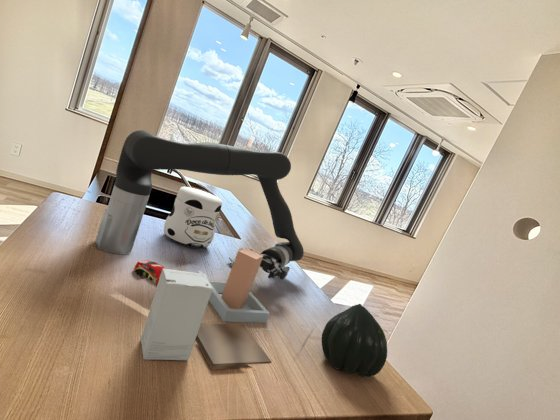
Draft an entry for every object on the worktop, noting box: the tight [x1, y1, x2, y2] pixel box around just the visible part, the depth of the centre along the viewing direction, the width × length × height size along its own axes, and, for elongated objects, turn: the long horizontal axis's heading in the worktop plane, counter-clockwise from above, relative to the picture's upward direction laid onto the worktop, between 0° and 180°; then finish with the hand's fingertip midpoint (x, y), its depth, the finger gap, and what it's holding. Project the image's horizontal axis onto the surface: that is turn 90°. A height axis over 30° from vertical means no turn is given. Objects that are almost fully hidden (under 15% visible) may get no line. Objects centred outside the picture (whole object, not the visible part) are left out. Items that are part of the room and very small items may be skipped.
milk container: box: [163, 186, 223, 249], centre depth 127 cm, size 17×17×18 cm
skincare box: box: [140, 267, 213, 361], centre depth 64 cm, size 8×6×15 cm
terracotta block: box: [221, 247, 263, 309], centre depth 91 cm, size 5×5×14 cm
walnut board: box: [195, 322, 272, 371], centre depth 74 cm, size 13×13×1 cm
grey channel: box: [196, 270, 271, 324], centre depth 93 cm, size 12×20×4 cm, turn 33°
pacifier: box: [228, 247, 244, 267], centre depth 123 cm, size 7×6×6 cm
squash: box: [321, 303, 388, 378], centre depth 85 cm, size 14×15×15 cm
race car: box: [133, 259, 166, 285], centre depth 91 cm, size 13×5×4 cm, turn 57°
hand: (256, 268), depth 100 cm, fingers open, 8 cm apart
